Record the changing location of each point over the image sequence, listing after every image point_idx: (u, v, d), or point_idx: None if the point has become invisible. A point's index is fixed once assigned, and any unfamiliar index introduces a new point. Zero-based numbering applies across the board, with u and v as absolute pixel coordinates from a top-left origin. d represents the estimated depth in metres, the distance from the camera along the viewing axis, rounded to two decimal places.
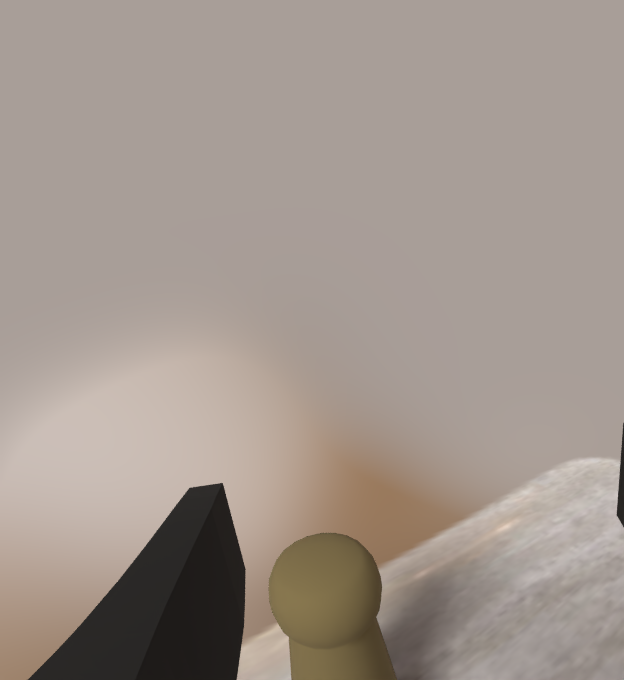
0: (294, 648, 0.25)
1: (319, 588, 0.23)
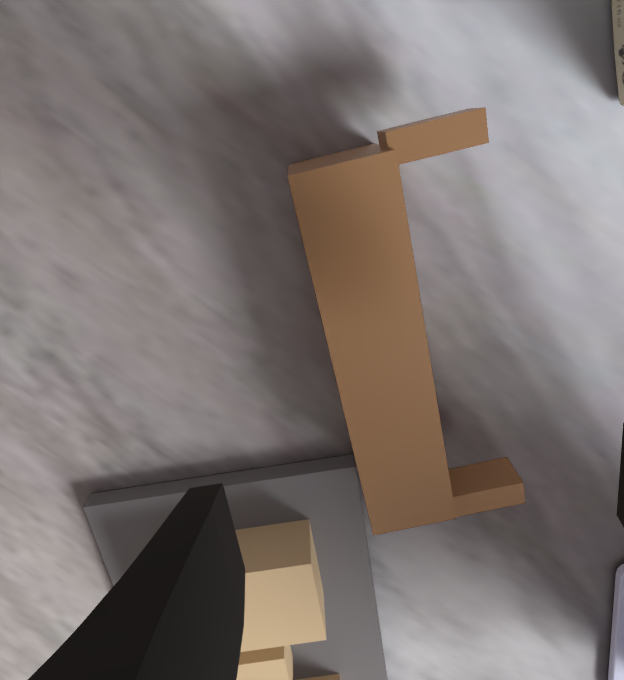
0: None
1: None
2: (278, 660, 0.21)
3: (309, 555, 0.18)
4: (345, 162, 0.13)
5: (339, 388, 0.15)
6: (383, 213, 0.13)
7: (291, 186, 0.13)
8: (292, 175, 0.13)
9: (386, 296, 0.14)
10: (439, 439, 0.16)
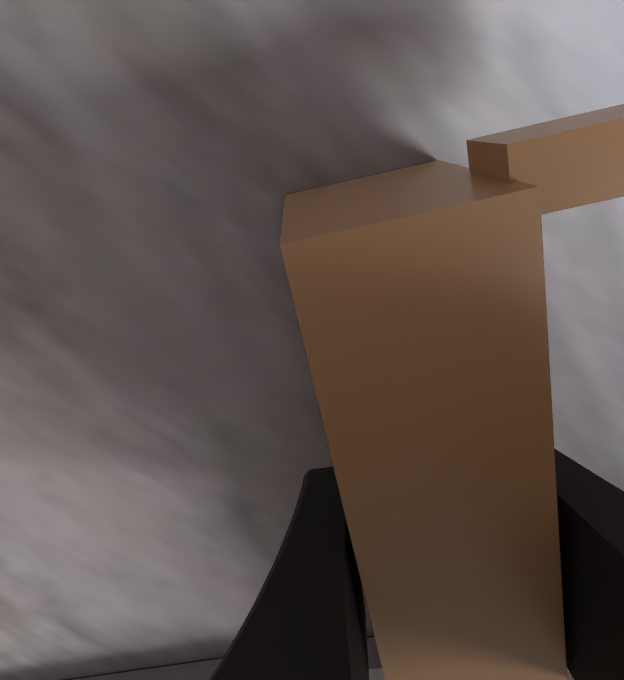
0: None
1: None
2: None
3: None
4: (417, 215, 0.05)
5: (379, 646, 0.07)
6: (496, 326, 0.06)
7: (289, 268, 0.05)
8: (291, 243, 0.05)
9: (485, 488, 0.07)
10: None
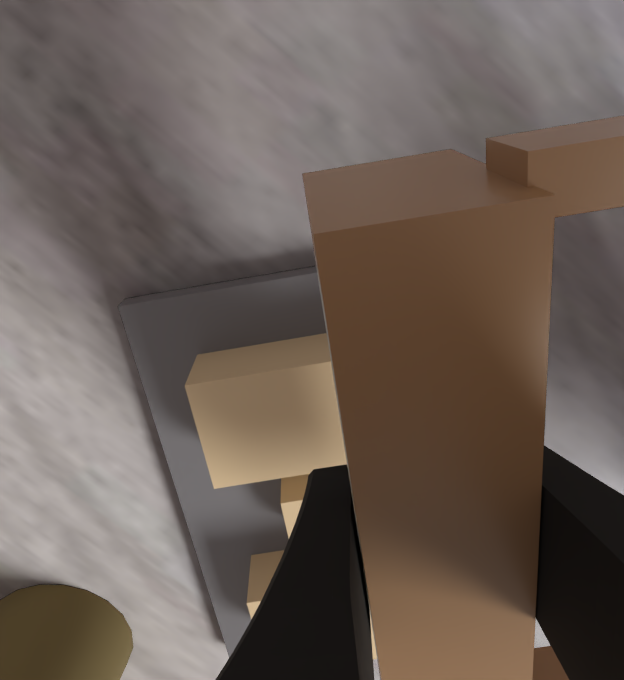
0: None
1: None
2: None
3: None
4: (442, 214, 0.06)
5: (371, 598, 0.08)
6: (503, 320, 0.06)
7: (320, 255, 0.06)
8: (324, 233, 0.06)
9: (479, 462, 0.07)
10: (526, 667, 0.09)
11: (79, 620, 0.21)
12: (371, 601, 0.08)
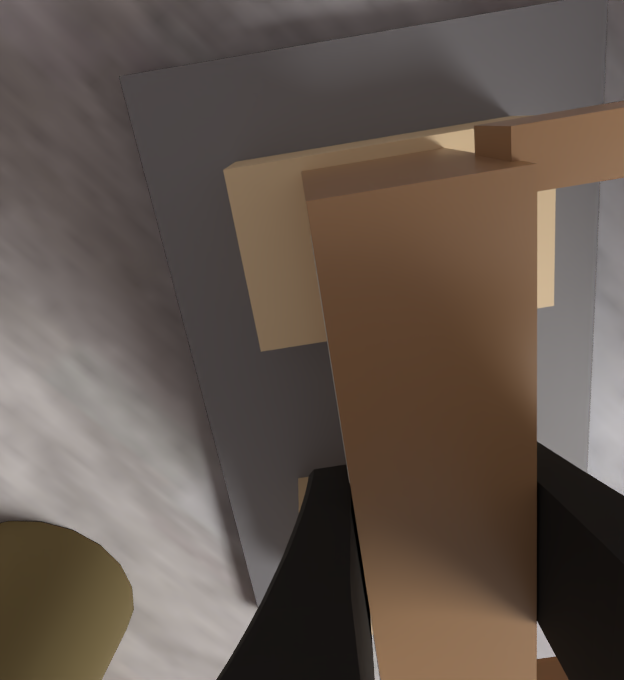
0: None
1: None
2: None
3: None
4: (429, 182, 0.06)
5: (368, 584, 0.08)
6: (492, 288, 0.07)
7: (312, 222, 0.06)
8: (316, 200, 0.06)
9: (473, 438, 0.07)
10: (529, 665, 0.09)
11: (62, 567, 0.15)
12: (368, 588, 0.08)
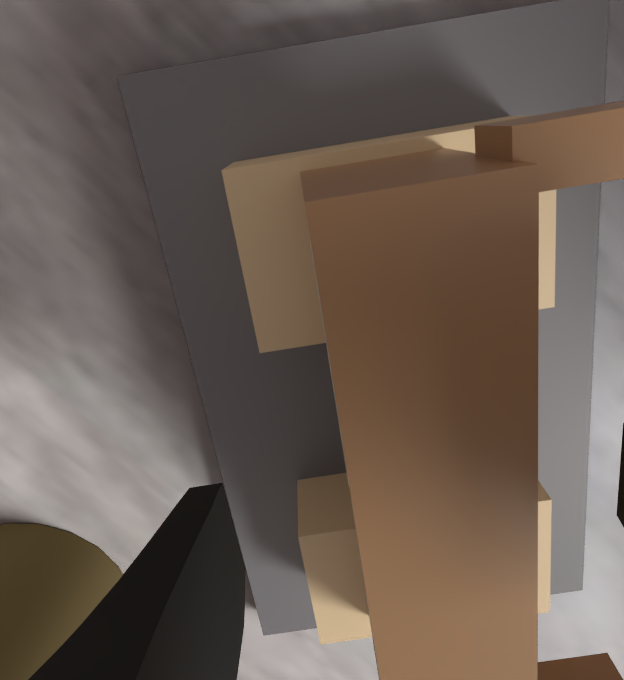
0: None
1: None
2: None
3: None
4: (430, 182, 0.06)
5: (367, 589, 0.08)
6: (493, 290, 0.06)
7: (311, 224, 0.06)
8: (315, 201, 0.06)
9: (474, 441, 0.07)
10: (530, 670, 0.09)
11: (59, 569, 0.15)
12: (368, 593, 0.08)
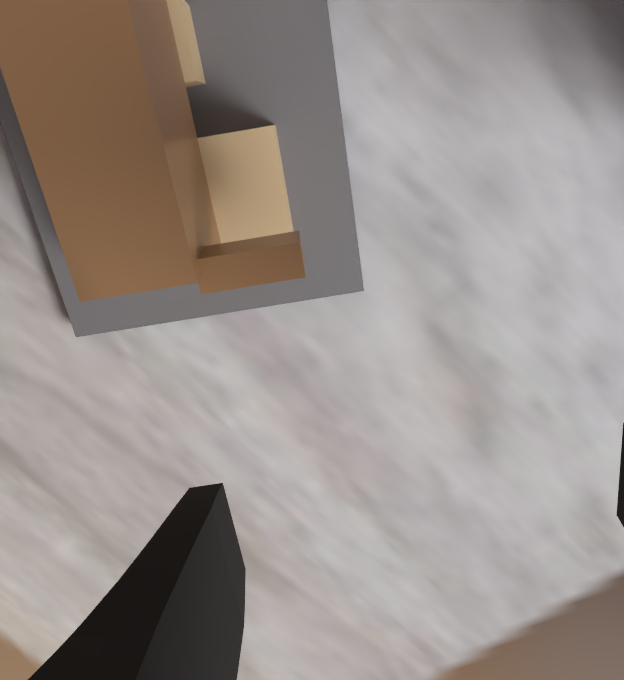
0: None
1: None
2: None
3: None
4: None
5: None
6: None
7: None
8: None
9: None
10: (155, 139, 0.11)
11: None
12: None
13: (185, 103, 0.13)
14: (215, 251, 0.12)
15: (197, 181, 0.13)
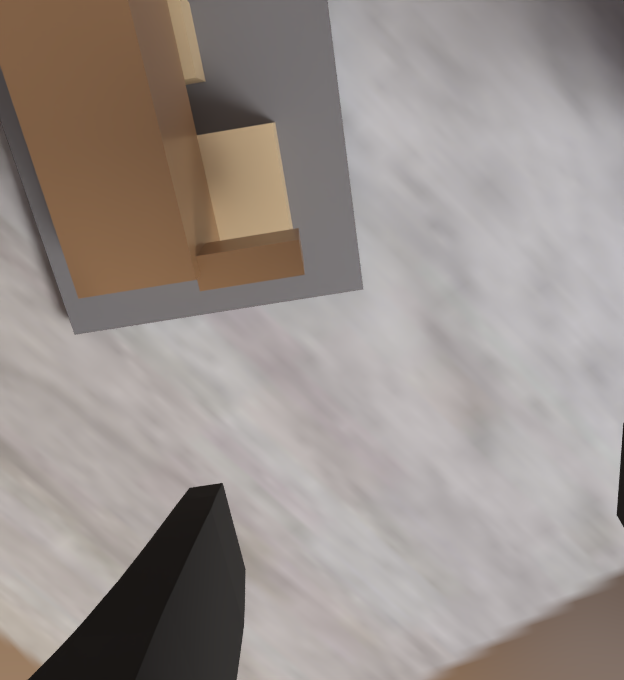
0: None
1: None
2: None
3: None
4: None
5: None
6: None
7: None
8: None
9: None
10: (155, 135, 0.10)
11: None
12: None
13: (185, 100, 0.13)
14: (214, 248, 0.12)
15: (196, 178, 0.13)
